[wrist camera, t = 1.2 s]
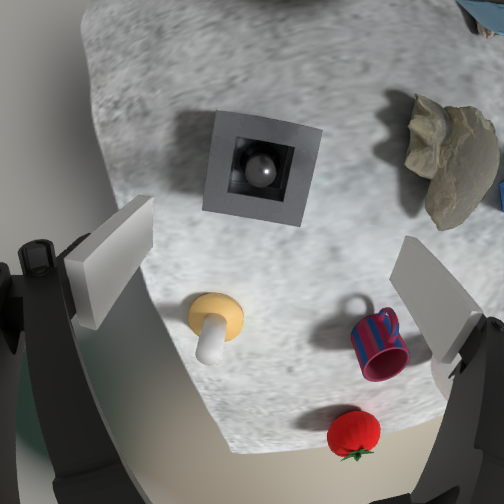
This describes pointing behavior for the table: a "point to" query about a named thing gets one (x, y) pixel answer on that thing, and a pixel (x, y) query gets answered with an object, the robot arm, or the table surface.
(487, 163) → the fossil
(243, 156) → the dark grey round-topped piece
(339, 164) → the table surface
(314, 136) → the grey square bin
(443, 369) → the white vase
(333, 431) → the tomato
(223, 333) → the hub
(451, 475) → the robot arm
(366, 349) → the mug
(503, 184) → the ink box
